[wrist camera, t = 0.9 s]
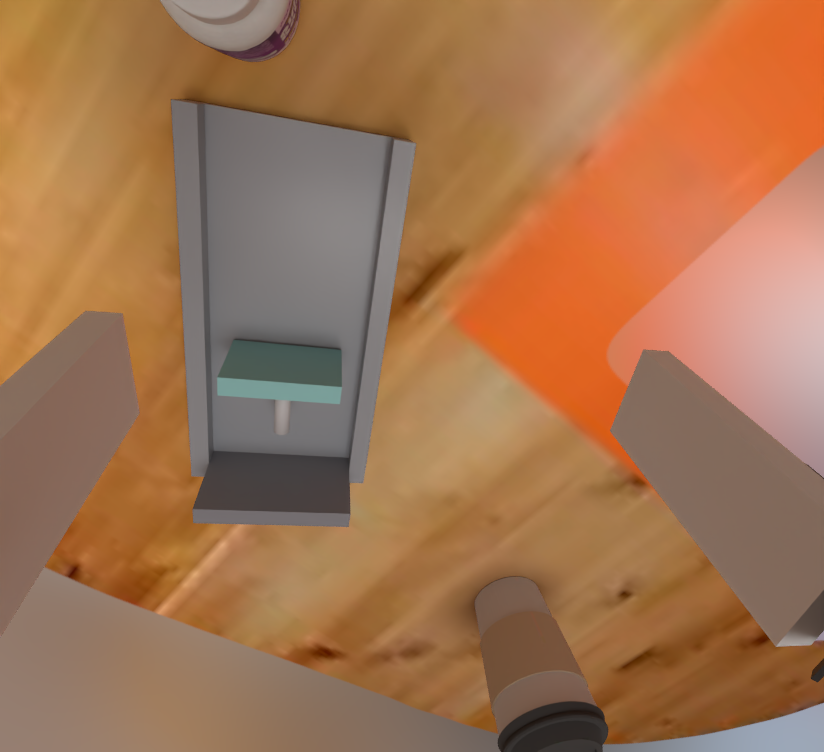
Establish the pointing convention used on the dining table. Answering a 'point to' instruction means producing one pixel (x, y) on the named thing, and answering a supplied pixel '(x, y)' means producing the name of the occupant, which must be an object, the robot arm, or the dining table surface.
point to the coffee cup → (533, 674)
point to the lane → (283, 299)
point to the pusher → (281, 376)
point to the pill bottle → (238, 25)
